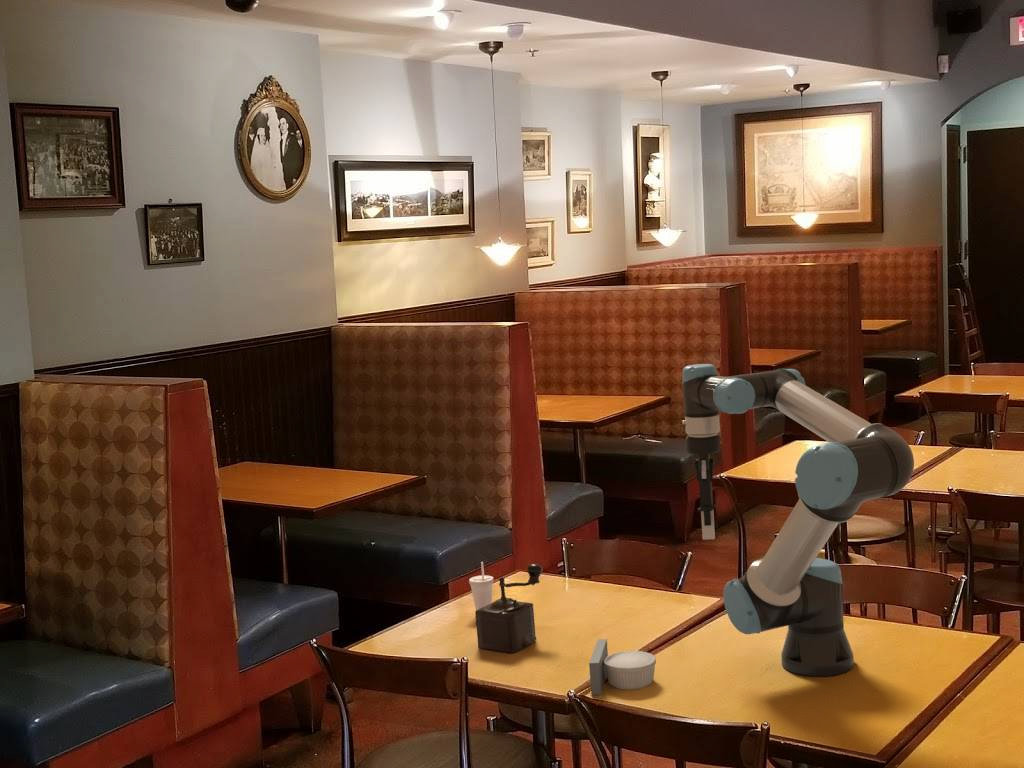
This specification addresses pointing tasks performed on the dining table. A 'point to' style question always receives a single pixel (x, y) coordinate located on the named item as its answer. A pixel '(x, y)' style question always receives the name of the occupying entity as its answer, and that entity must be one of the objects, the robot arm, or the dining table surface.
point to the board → (598, 667)
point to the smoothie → (481, 589)
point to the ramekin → (630, 669)
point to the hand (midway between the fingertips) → (708, 538)
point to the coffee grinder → (508, 619)
